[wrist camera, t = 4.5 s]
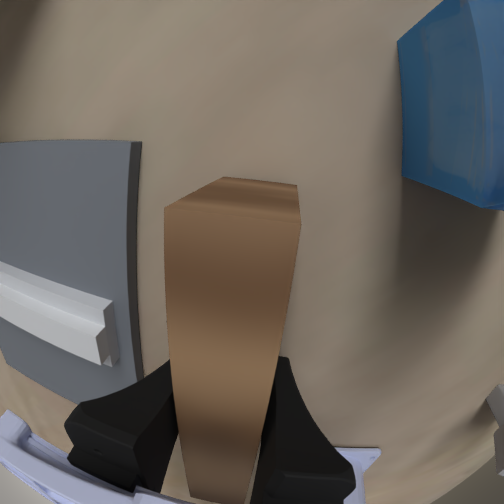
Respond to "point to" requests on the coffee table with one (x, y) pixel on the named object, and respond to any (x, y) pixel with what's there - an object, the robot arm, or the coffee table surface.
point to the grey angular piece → (500, 403)
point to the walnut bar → (227, 322)
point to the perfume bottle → (455, 100)
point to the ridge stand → (70, 264)
